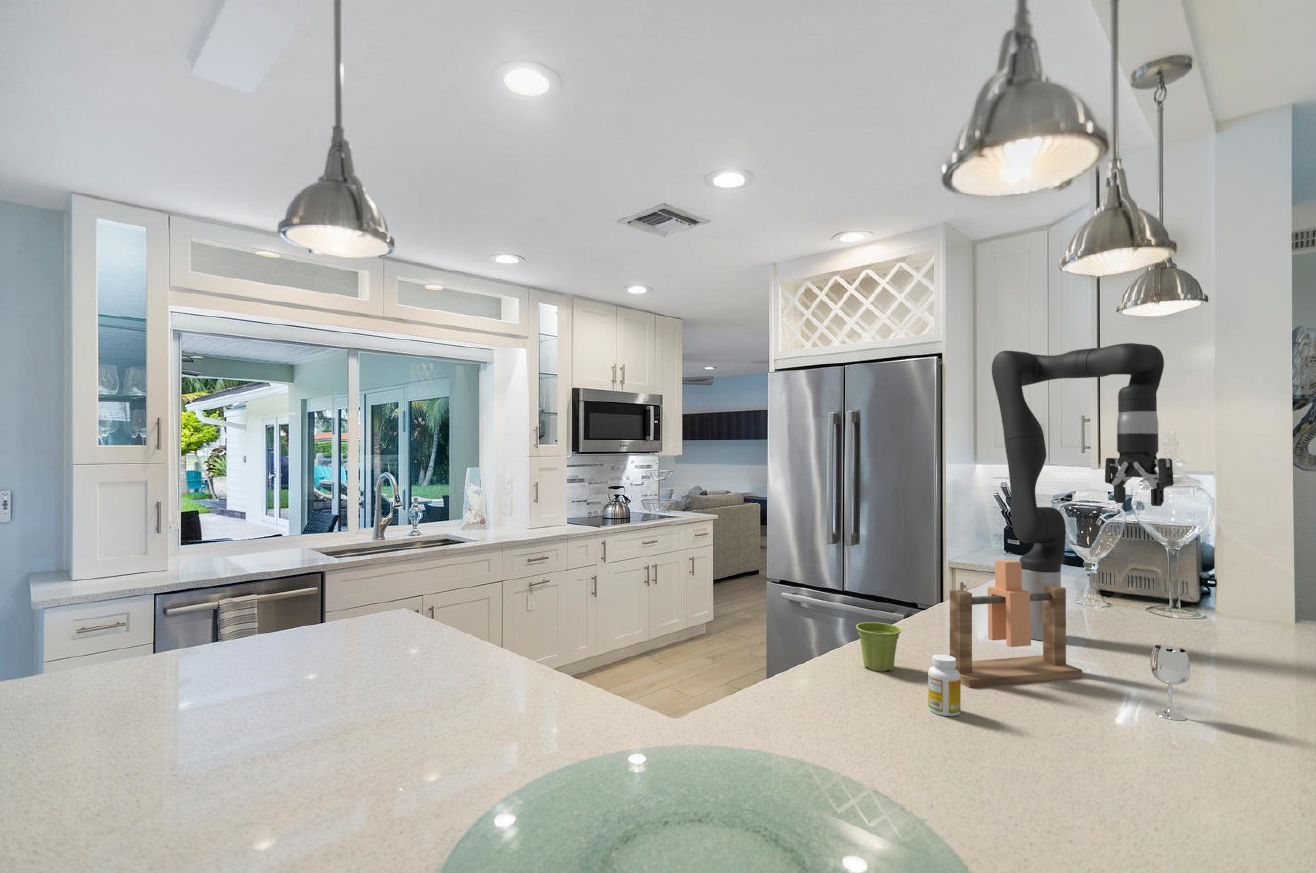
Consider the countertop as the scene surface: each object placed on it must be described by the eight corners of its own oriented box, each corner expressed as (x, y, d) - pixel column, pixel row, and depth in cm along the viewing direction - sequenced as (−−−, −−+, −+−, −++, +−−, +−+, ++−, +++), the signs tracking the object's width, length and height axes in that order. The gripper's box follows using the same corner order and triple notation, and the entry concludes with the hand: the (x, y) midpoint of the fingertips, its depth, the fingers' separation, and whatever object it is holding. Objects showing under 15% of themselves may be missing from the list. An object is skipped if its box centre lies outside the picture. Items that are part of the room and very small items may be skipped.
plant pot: (853, 670, 140) (853, 630, 140) (857, 658, 149) (858, 620, 149) (900, 677, 137) (900, 635, 137) (901, 663, 145) (901, 624, 145)
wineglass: (1185, 712, 119) (1184, 646, 120) (1195, 724, 114) (1195, 655, 114) (1146, 706, 122) (1146, 642, 122) (1155, 718, 117) (1154, 650, 117)
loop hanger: (988, 638, 142) (987, 559, 142) (1007, 637, 143) (1006, 558, 144) (1010, 647, 135) (1009, 563, 136) (1030, 645, 137) (1029, 562, 137)
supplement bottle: (958, 707, 121) (958, 654, 121) (962, 718, 115) (962, 663, 116) (927, 703, 122) (927, 651, 123) (929, 714, 117) (929, 660, 117)
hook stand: (936, 671, 141) (936, 587, 141) (1043, 661, 148) (1043, 582, 148) (969, 687, 131) (969, 597, 131) (1082, 676, 138) (1081, 591, 138)
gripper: (1182, 431, 141) (1183, 507, 140) (1121, 433, 155) (1121, 501, 154) (1154, 431, 139) (1155, 507, 139) (1095, 432, 153) (1096, 502, 152)
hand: (1137, 504), depth 146 cm, fingers open, 8 cm apart
